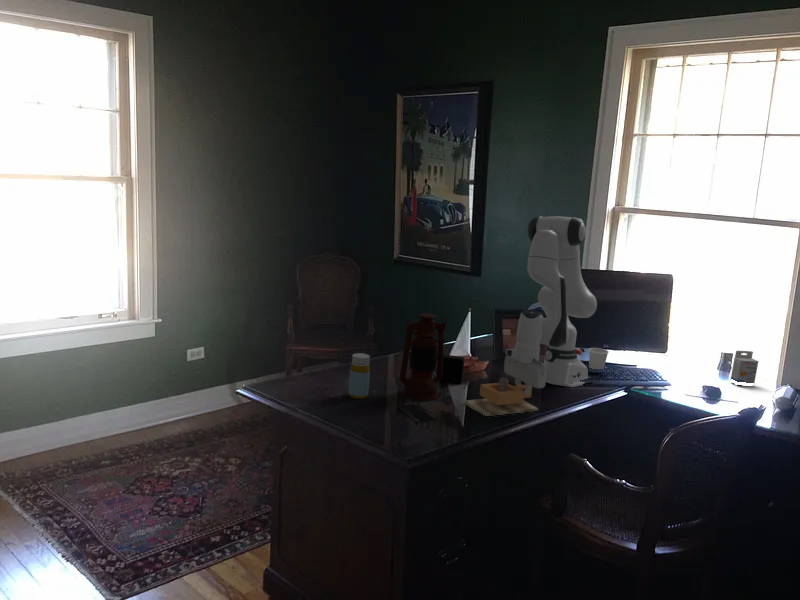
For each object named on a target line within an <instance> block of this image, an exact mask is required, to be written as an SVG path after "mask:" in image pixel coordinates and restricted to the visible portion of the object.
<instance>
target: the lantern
mask: <svg viewBox="0 0 800 600" xmlns="http://www.w3.org/2000/svg"><path fill="white" fill-rule="evenodd" d="M417 318H419V319H418V322H414V323H411V321H410V319H409V318H407V317H406V318H405V323H406V326H405V330H406V334H405V341H404V347H403V354H402V360H401V367H400V373H399V374H400V375H399V380H400V382H401V384H403V388H402V389H401V392H400V394H401V396H402V397H404V398H405V399H408V398H409V400H413V401H417V400H419V402H431V401H434V400H438V399H439V395H440V393H439V392H438V383H439V382H440V380H441V379H442V376H443V354H444V345H445V344H444V343H445V340H444V339H445V336H444V335H445V330H446V324H447V318H446V317H442V319H441V321H440V322H435V320H436V318H437V316H436V315H434V314H432V313H424V312H423V313H420V314H418V315H417ZM443 320H445V321H444V322H443ZM436 330H437V332H436ZM437 333H438V334H437ZM413 336H414V338H412V337H413ZM436 336H438V337H437V338H438V339H437V338H434V337H436ZM408 362H409V363H408ZM408 364H409V369H410V373H411V375H410V376H409V377H408V378H406V375H407V371H408V370H407V369H408ZM437 364H438V368H437ZM435 371H436V375H437V377H436V376H435V377H432V376H433V374H434V372H435Z"/></svg>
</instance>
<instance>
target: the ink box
mask: <svg viewBox="0 0 800 600" xmlns="http://www.w3.org/2000/svg"><path fill="white" fill-rule="evenodd" d="M753 354H754V351H752V350H736V351H735V355H734V358H733V365H732V368H731V369H732V370H731V376H730V380H731V379H733V380H735V381H737V382H746V383H754V384H755V382H756V381H755V380H756V376H757V372H758V367H759V360H756V359H754V358H753Z"/></svg>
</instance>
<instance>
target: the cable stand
mask: <svg viewBox="0 0 800 600" xmlns="http://www.w3.org/2000/svg"><path fill="white" fill-rule="evenodd" d="M498 383H500V390H499V392H504V391H506V389H507V385H508V384H509V379H508V378H507V377H504V376H503V377H501V378H500V379H499V382H498ZM464 405H466V406H467V407H469V408H470V409H472V410H474V411H475V410H476V411H475V412H477V411H478V413H479V412H480V413H481V414H480V413H479V414H480V415H482V414H483V415H482V416H484V415H485V416H494V417H496V416H495V415H503V414H512V415H514V414H513V413H521V414H524V413H523V412H529V413H535V412H534V411H539V408H538V407H536V406H535V405H532V404H531V403H529V402H527V401H525V400H523V403H515V404H504V405H496V404H494V403H493V402H491V401H489V400H488V399H486V398H479V399H477V398H475V399H468V400H464ZM485 416H484V417H485ZM503 416H504V415H503Z"/></svg>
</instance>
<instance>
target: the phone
mask: <svg viewBox="0 0 800 600" xmlns="http://www.w3.org/2000/svg"><path fill="white" fill-rule="evenodd" d="M397 409H398V411H400V412H402V413H403V414H405V415H406V416H407V417H409V418H411V419H412V420H413V421H415V422H416V421H417V422H416V423H418V422H419V423H418V424H425V422H426V423H433V421H434V422H438V421H439V417H438V416H436V415H435V414H433V413H431V412H430V411H428V410H426V409H425V408H423V407H422V406H420V405H419V404H417V403H415V404H414V403H411V404H404V405H401V404H400V405H398V406H397Z"/></svg>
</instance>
